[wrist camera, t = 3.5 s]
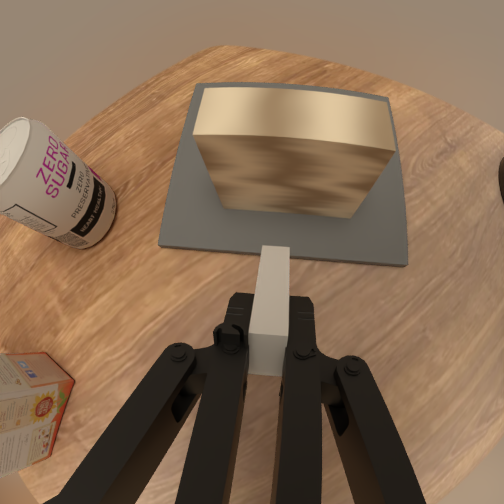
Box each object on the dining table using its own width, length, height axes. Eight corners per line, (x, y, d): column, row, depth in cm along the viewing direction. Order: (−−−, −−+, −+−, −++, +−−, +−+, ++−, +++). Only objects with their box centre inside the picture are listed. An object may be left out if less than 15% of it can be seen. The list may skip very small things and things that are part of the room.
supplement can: (57, 208, 31) (-25, 154, 16) (107, 170, 31) (34, 94, 17) (73, 263, 29) (-28, 223, 14) (128, 224, 29) (39, 154, 15)
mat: (386, 102, 31) (388, 97, 30) (404, 266, 26) (408, 264, 25) (197, 88, 33) (196, 83, 32) (161, 247, 28) (157, 244, 28)
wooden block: (349, 178, 28) (386, 99, 16) (350, 218, 27) (395, 150, 15) (229, 169, 29) (205, 85, 17) (223, 208, 28) (192, 134, 16)
